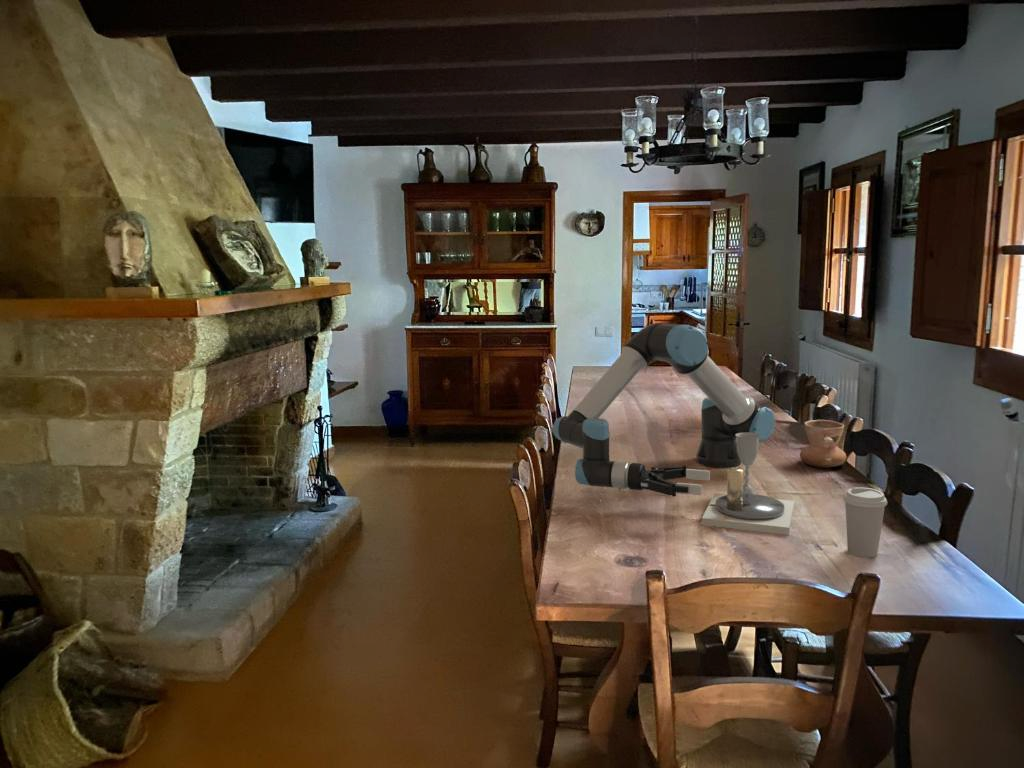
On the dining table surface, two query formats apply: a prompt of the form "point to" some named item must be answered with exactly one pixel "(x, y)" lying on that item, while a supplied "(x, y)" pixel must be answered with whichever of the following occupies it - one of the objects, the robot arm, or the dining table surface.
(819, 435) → the ceramic jug
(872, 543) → the coffee cup
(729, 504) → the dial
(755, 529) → the dial board
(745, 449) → the chalice
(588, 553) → the dining table surface
